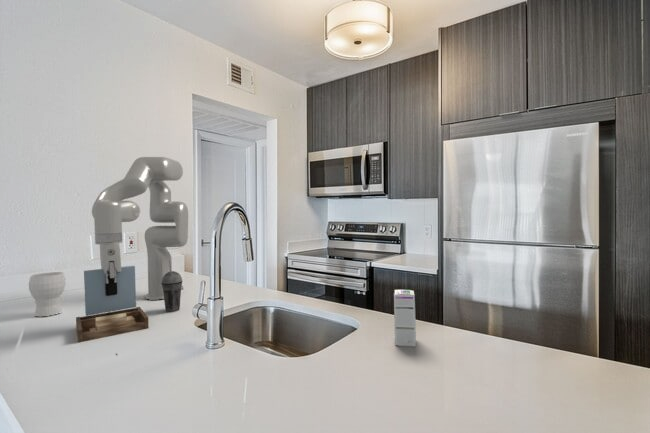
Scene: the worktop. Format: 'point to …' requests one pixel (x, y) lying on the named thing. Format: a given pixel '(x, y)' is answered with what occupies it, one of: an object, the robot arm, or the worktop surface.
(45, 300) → the cup
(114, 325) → the offcut middle
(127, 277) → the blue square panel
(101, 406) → the worktop surface
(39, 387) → the worktop surface
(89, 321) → the rack
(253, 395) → the worktop surface
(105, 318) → the offcut top
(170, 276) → the beverage cup
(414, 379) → the worktop surface
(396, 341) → the syrup box
